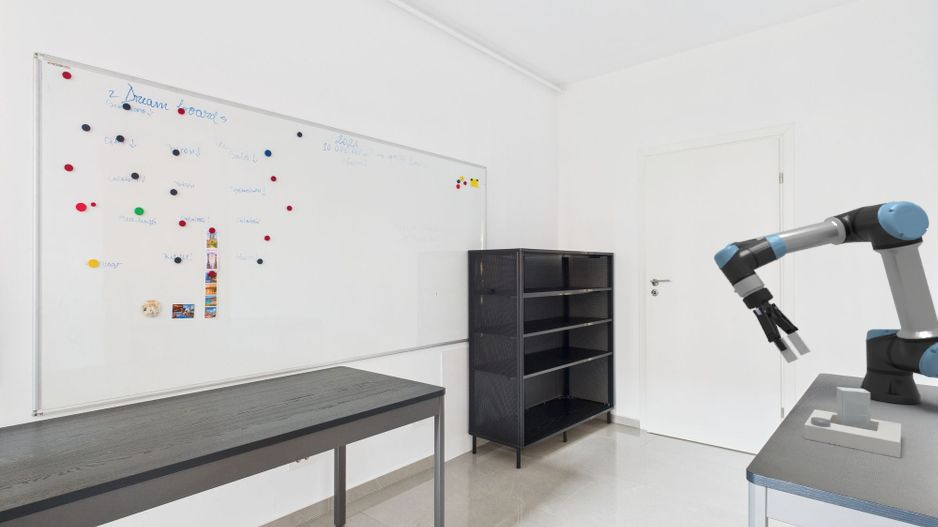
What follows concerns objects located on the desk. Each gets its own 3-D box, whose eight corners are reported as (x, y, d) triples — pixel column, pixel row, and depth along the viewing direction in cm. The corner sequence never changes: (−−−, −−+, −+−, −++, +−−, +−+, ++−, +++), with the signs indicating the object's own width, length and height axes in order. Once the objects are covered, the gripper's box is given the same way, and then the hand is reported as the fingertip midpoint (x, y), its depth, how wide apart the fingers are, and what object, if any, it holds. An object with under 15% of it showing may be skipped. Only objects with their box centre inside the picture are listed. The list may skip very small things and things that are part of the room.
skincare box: (864, 434, 123) (864, 388, 123) (871, 440, 119) (871, 392, 119) (836, 431, 126) (836, 386, 126) (842, 437, 122) (842, 390, 122)
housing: (814, 421, 134) (814, 405, 134) (901, 437, 121) (901, 419, 121) (804, 438, 121) (804, 419, 121) (900, 458, 108) (900, 437, 108)
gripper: (755, 296, 154) (798, 355, 146) (727, 302, 137) (774, 370, 129) (777, 284, 149) (823, 345, 141) (751, 288, 132) (801, 358, 124)
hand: (799, 357), depth 135 cm, fingers open, 13 cm apart
